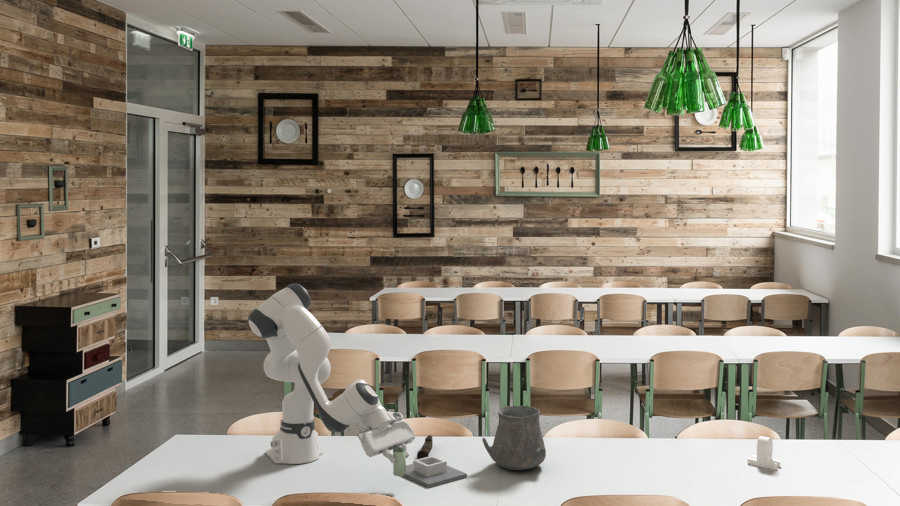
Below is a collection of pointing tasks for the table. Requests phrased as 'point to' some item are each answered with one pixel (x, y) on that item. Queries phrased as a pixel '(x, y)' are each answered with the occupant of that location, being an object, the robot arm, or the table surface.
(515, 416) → the vessel
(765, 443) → the cable organizer
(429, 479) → the docking plate
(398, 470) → the green cylinder
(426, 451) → the brown wooden log
